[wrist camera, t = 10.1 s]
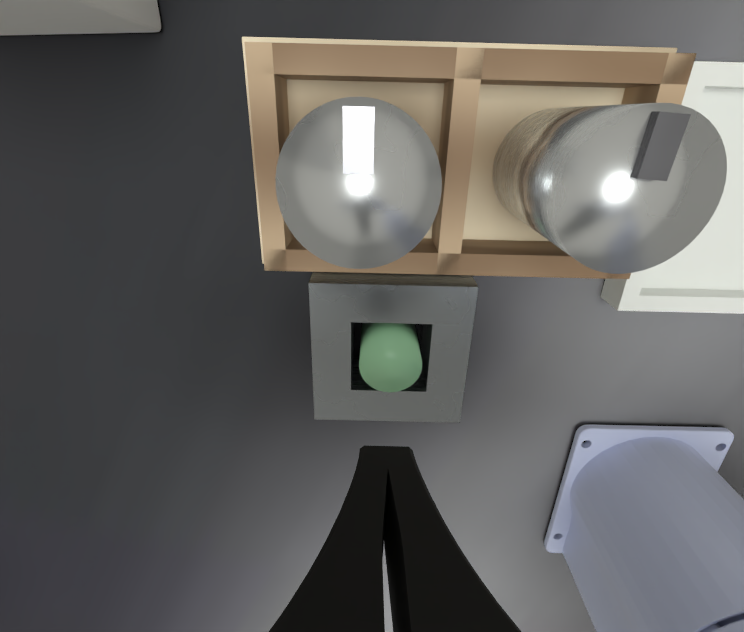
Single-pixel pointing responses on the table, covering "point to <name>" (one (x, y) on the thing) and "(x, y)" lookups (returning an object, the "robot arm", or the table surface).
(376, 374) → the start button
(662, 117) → the cylinder
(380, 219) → the cylinder
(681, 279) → the square tray
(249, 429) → the table surface
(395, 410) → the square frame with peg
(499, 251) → the wooden compartment tray
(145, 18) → the milk carton
